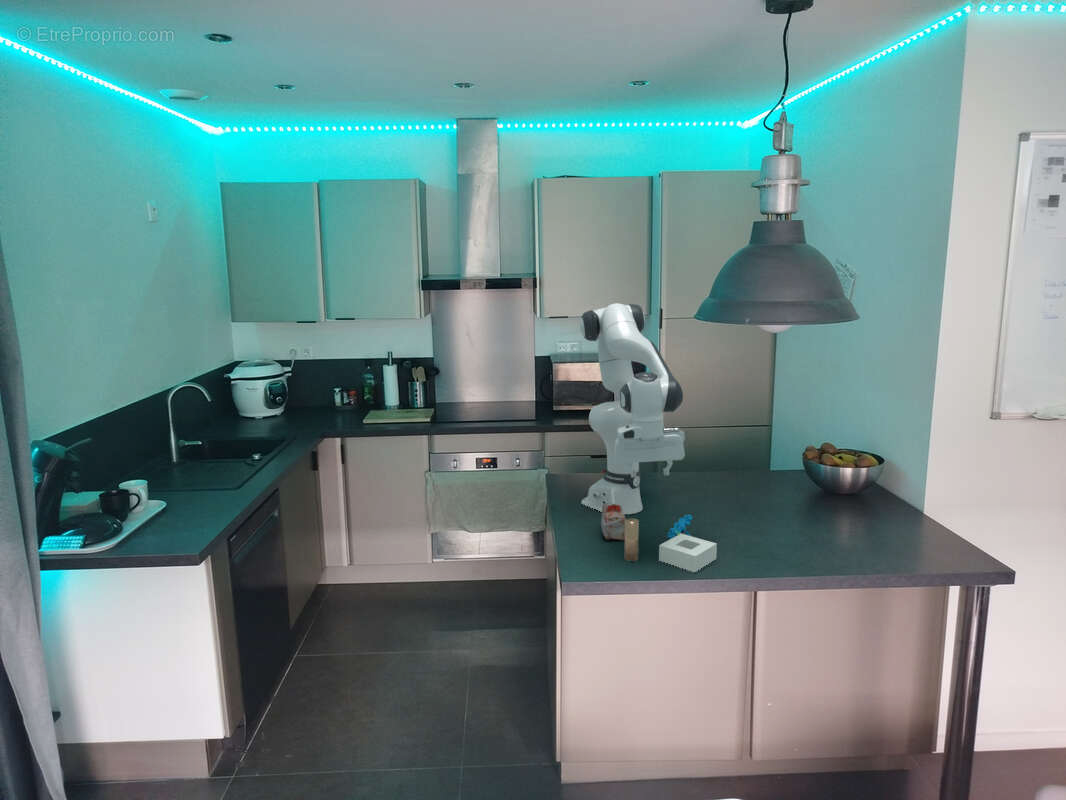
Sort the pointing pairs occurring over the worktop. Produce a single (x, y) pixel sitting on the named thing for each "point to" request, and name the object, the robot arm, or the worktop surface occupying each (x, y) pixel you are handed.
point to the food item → (613, 522)
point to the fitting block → (687, 552)
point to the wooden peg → (631, 539)
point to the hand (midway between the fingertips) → (649, 475)
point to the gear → (680, 527)
